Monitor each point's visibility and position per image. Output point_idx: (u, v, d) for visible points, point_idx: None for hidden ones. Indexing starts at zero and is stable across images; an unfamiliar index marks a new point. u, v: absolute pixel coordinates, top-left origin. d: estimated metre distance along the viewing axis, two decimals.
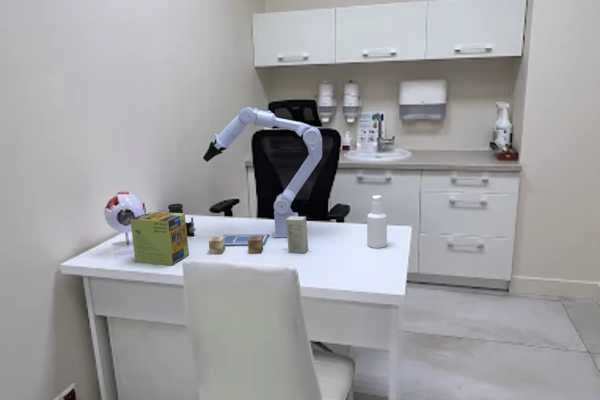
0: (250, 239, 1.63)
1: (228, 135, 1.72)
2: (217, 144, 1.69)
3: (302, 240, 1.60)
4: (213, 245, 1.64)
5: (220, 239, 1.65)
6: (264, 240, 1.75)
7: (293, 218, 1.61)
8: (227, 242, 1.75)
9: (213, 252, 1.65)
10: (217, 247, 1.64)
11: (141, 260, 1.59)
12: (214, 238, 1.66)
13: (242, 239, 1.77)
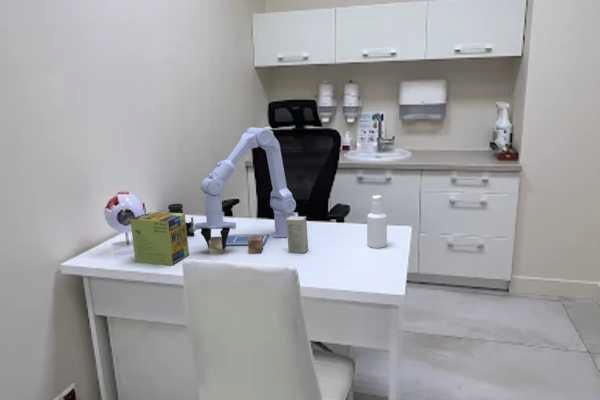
0: (250, 239, 1.63)
1: None
2: (235, 225, 1.63)
3: (302, 240, 1.60)
4: (213, 245, 1.64)
5: (220, 239, 1.65)
6: (264, 240, 1.75)
7: (293, 218, 1.61)
8: (227, 242, 1.75)
9: (213, 252, 1.65)
10: (217, 247, 1.64)
11: (141, 260, 1.59)
12: (214, 238, 1.66)
13: (242, 239, 1.77)
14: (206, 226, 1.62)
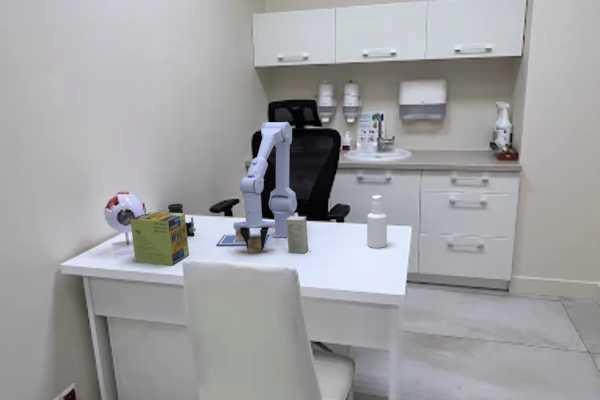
0: (250, 239, 1.63)
1: (261, 212, 1.62)
2: (274, 224, 1.62)
3: (302, 240, 1.60)
4: (239, 232, 1.75)
5: None
6: None
7: (293, 218, 1.61)
8: (227, 242, 1.75)
9: (239, 239, 1.75)
10: None
11: (141, 260, 1.59)
12: None
13: None
14: (245, 225, 1.61)
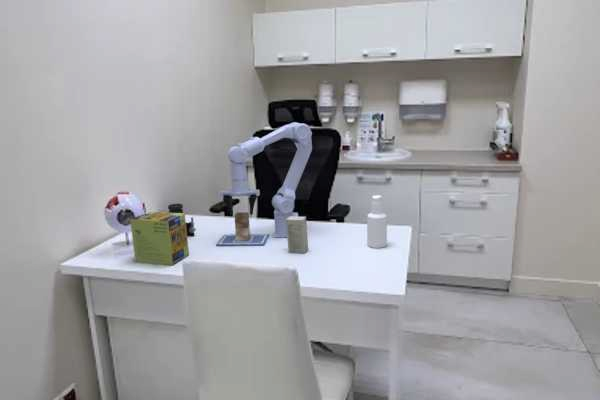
0: (237, 215, 1.74)
1: (246, 181, 1.72)
2: (258, 192, 1.72)
3: (302, 240, 1.60)
4: (239, 232, 1.75)
5: None
6: (264, 240, 1.75)
7: (293, 218, 1.61)
8: (227, 242, 1.75)
9: (239, 239, 1.75)
10: (243, 234, 1.75)
11: (141, 260, 1.59)
12: None
13: None
14: (231, 193, 1.71)
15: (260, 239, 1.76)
